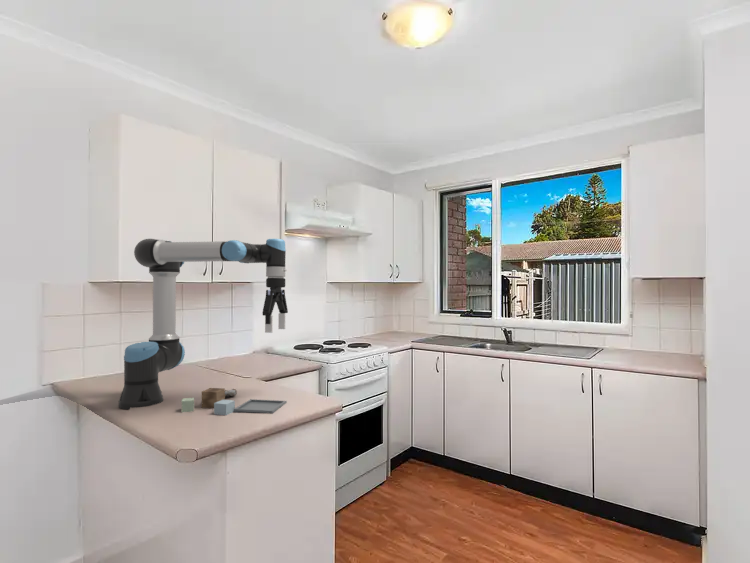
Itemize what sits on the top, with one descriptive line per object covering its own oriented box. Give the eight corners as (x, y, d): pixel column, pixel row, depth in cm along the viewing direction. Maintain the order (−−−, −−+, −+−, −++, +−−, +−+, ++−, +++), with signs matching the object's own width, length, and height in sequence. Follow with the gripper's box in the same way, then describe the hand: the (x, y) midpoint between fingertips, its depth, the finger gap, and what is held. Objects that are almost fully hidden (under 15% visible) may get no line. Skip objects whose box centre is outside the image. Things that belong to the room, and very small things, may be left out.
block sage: (181, 412, 156) (181, 401, 156) (182, 409, 160) (182, 398, 160) (193, 411, 158) (193, 400, 158) (194, 408, 162) (194, 397, 162)
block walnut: (201, 407, 162) (201, 391, 162) (210, 403, 168) (210, 387, 168) (216, 408, 161) (216, 392, 161) (224, 404, 167) (224, 388, 167)
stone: (212, 398, 172) (212, 391, 172) (210, 397, 178) (210, 390, 179) (237, 395, 176) (237, 389, 176) (235, 394, 182) (235, 387, 183)
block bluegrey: (214, 414, 154) (214, 403, 154) (222, 410, 159) (222, 399, 159) (226, 415, 153) (226, 404, 153) (234, 411, 158) (234, 400, 158)
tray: (233, 412, 156) (233, 408, 156) (250, 402, 170) (250, 399, 170) (272, 414, 154) (272, 410, 154) (286, 404, 167) (286, 400, 167)
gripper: (272, 277, 163) (272, 334, 162) (295, 278, 187) (295, 327, 187) (253, 277, 164) (253, 333, 164) (278, 278, 188) (278, 327, 188)
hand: (275, 330), depth 175 cm, fingers open, 13 cm apart
